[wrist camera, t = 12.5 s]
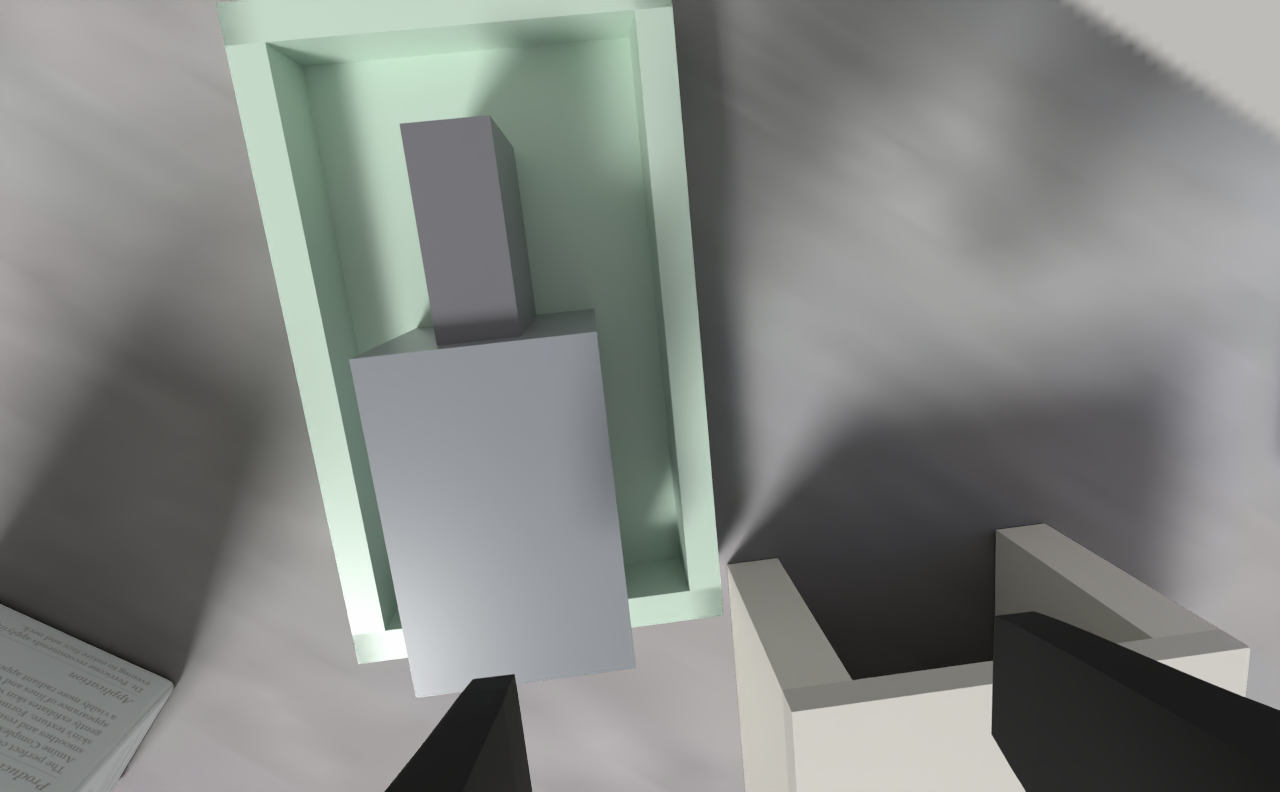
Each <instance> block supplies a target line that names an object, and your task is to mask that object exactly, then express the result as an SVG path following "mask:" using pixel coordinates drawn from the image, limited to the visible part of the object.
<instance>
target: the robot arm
mask: <svg viewBox="0 0 1280 792" xmlns="http://www.w3.org/2000/svg"><path fill="white" fill-rule="evenodd" d="M991 734H992V736H993V738H994V740H995V741H996V743H997V745H998V746H999V748H1000V750H1001V752H1002V753H1003V755H1004V757H1005V758H1006V760H1007V762H1008V764H1009V765H1010V767H1011V769H1012V770H1013V772H1014V774H1015V775H1016V777H1017V778H1018V780H1019V781H1020V783H1021V785H1022V786H1023V788H1024V789H1025V791H1026V792H1280V710H1277V709H1274V708H1272V707H1269V706H1267V705H1264V704H1261V703H1259V702H1256V701H1253V700H1251V699H1248V698H1246V697H1243V696H1241V695H1238V694H1236V693H1233V692H1231V691H1228V690H1226V689H1223V688H1221V687H1218V686H1216V685H1213V684H1211V683H1208V682H1206V681H1204V680H1201V679H1199V678H1196V677H1194V676H1192V675H1189V674H1187V673H1184V672H1182V671H1180V670H1177V669H1175V668H1173V667H1170V666H1168V665H1165V664H1163V663H1161V662H1158V661H1156V660H1154V659H1151V658H1149V657H1147V656H1144V655H1142V654H1140V653H1137V652H1135V651H1133V650H1130V649H1128V648H1126V647H1123V646H1121V645H1119V644H1116V643H1114V642H1112V641H1109V640H1107V639H1105V638H1102V637H1100V636H1097V635H1095V634H1093V633H1090V632H1088V631H1085V630H1083V629H1081V628H1078V627H1076V626H1073V625H1071V624H1068V623H1066V622H1063V621H1061V620H1058V619H1055V618H1052V617H1050V616H1047V615H1044V614H1041V613H1038V612H1035V611H1030V612H1022V613H1014V614H1006V615H997V616H994V642H993V684H992V726H991ZM385 792H532V787H531V780H530V774H529V767H528V760H527V753H526V747H525V740H524V733H523V726H522V720H521V713H520V706H519V700H518V693H517V686H516V679H515V674H510V675H502V676H494V677H485V678H477V679H473V680H472V681H471V682H470V683H469V684H468V685H467V687H466V688H465V689H464V690H463V692H462V693H461V694H460V696H459V697H458V698H457V700H456V701H455V702H454V704H453V705H452V706H451V708H450V709H449V710H448V712H447V713H446V714H445V716H444V717H443V718H442V720H441V721H440V722H439V724H438V725H437V726H436V727H435V729H434V730H433V731H432V733H431V734H430V735H429V737H428V738H427V739H426V741H425V742H424V743H423V744H422V746H421V747H420V748H419V750H418V751H417V752H416V753H415V755H414V756H413V757H412V758H411V759H410V761H409V762H408V763H407V764H406V766H405V767H404V768H403V769H402V771H401V772H400V773H399V774H398V776H397V777H396V778H395V779H394V781H393V782H392V783H391V784H390V786H389V787H388V788H387V789H386V790H385Z"/></svg>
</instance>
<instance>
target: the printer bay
mask: <svg viewBox="0 0 1280 792" xmlns="http://www.w3.org/2000/svg"><path fill="white" fill-rule="evenodd" d="M727 570H728V583H729V595H730V607H731V620H732V632H733V644H734V656H735V669H736V681H737V693H738V706H739V718H740V730H741V743H742V755H743V767H744V780H745V792H1026V791H1025V789H1024V788H1023V786H1022V785H1021V783H1020V781H1019V780H1018V778H1017V777H1016V775H1015V774H1014V772H1013V770H1012V769H1011V767H1010V765H1009V764H1008V762H1007V760H1006V758H1005V757H1004V755H1003V753H1002V752H1001V750H1000V748H999V746H998V745H997V743H996V741H995V740H994V738H993V736H992V734H991V726H992V684H993V661H987V662H980V663H973V664H965V665H958V666H951V667H944V668H937V669H930V670H922V671H915V672H908V673H901V674H894V675H886V676H879V677H872V678H865V679H858V680H852V679H851V677H850V676H849V674H848V672H847V671H846V669H845V667H844V666H843V664H842V662H841V661H840V659H839V658H838V656H837V654H836V653H835V651H834V649H833V648H832V646H831V644H830V643H829V641H828V640H827V638H826V636H825V635H824V633H823V631H822V630H821V628H820V626H819V625H818V623H817V622H816V620H815V618H814V617H813V615H812V613H811V612H810V610H809V608H808V607H807V605H806V604H805V602H804V600H803V599H802V597H801V595H800V594H799V592H798V590H797V589H796V587H795V586H794V584H793V582H792V581H791V579H790V577H789V576H788V574H787V572H786V571H785V569H784V568H783V566H782V564H781V563H780V561H779V559H778V558H774V559H766V560H759V561H751V562H743V563H736V564H728V565H727ZM1030 611H1035V612H1038V613H1041V614H1044V615H1047V616H1050V617H1052V618H1055V619H1058V620H1061V621H1063V622H1066V623H1068V624H1071V625H1073V626H1076V627H1078V628H1081V629H1083V630H1085V631H1088V632H1090V633H1093V634H1095V635H1097V636H1100V637H1102V638H1105V639H1107V640H1109V641H1112V642H1114V643H1116V644H1119V645H1121V646H1123V647H1126V648H1128V649H1130V650H1133V651H1135V652H1137V653H1140V654H1142V655H1144V656H1147V657H1149V658H1151V659H1154V660H1156V661H1158V662H1161V663H1163V664H1165V665H1168V666H1170V667H1173V668H1175V669H1177V670H1180V671H1182V672H1184V673H1187V674H1189V675H1192V676H1194V677H1196V678H1199V679H1201V680H1204V681H1206V682H1208V683H1211V684H1213V685H1216V686H1218V687H1221V688H1223V689H1226V690H1228V691H1231V692H1233V693H1236V694H1238V695H1241V696H1243V697H1245V696H1246V687H1247V677H1248V667H1249V657H1250V647H1249V646H1247V645H1245V644H1244V643H1242V642H1241V641H1239V640H1237V639H1236V638H1234V637H1232V636H1231V635H1229V634H1227V633H1226V632H1224V631H1222V630H1221V629H1219V628H1217V627H1216V626H1214V625H1212V624H1211V623H1209V622H1207V621H1206V620H1204V619H1202V618H1201V617H1199V616H1197V615H1196V614H1194V613H1192V612H1191V611H1189V610H1187V609H1186V608H1184V607H1182V606H1181V605H1179V604H1177V603H1176V602H1174V601H1172V600H1171V599H1169V598H1167V597H1166V596H1164V595H1163V594H1161V593H1159V592H1158V591H1156V590H1154V589H1153V588H1151V587H1149V586H1148V585H1146V584H1144V583H1143V582H1141V581H1139V580H1138V579H1136V578H1134V577H1133V576H1131V575H1129V574H1128V573H1126V572H1124V571H1123V570H1121V569H1119V568H1118V567H1116V566H1114V565H1113V564H1111V563H1109V562H1108V561H1106V560H1104V559H1103V558H1101V557H1099V556H1098V555H1096V554H1094V553H1093V552H1091V551H1090V550H1088V549H1086V548H1085V547H1083V546H1081V545H1080V544H1078V543H1076V542H1075V541H1073V540H1071V539H1070V538H1068V537H1066V536H1065V535H1063V534H1061V533H1060V532H1058V531H1056V530H1055V529H1053V528H1051V527H1050V526H1048V525H1046V524H1045V523H1044V524H1037V525H1029V526H1021V527H1013V528H1006V529H998V530H996V571H995V616H997V615H1006V614H1014V613H1022V612H1030Z"/></svg>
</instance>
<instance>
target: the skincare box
mask: <svg viewBox="0 0 1280 792" xmlns="http://www.w3.org/2000/svg"><path fill="white" fill-rule="evenodd" d="M172 691H173V683H172V682H171V681H169V680H168V679H165V678H163V677H161V676H159V675H156V674H154V673H152V672H149V671H147V670H145V669H143V668H140V667H138V666H136V665H134V664H131V663H129V662H127V661H125V660H123V659H120V658H118V657H116V656H114V655H112V654H109V653H107V652H105V651H103V650H101V649H98V648H96V647H94V646H92V645H90V644H87V643H85V642H83V641H81V640H79V639H76V638H74V637H72V636H70V635H68V634H65V633H63V632H61V631H59V630H57V629H54V628H52V627H50V626H48V625H46V624H43V623H41V622H39V621H37V620H35V619H32V618H30V617H28V616H26V615H24V614H21V613H19V612H17V611H15V610H13V609H10V608H8V607H6V606H4V605H2V604H0V792H113V790H114V787H115V785H116V783H117V781H118V780H119V778H120V776H121V775H122V773H123V771H124V770H125V768H126V766H127V764H128V763H129V761H130V760H131V758H132V756H133V755H134V753H135V751H136V750H137V748H138V746H139V744H140V743H141V741H142V739H143V738H144V736H145V734H146V733H147V731H148V729H149V728H150V726H151V725H152V723H153V721H154V720H155V718H156V716H157V715H158V713H159V712H160V710H161V708H162V707H163V705H164V704H165V702H166V700H167V699H168V697H169V696H170V694H171V693H172Z"/></svg>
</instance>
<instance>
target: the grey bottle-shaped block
mask: <svg viewBox="0 0 1280 792" xmlns="http://www.w3.org/2000/svg"><path fill="white" fill-rule="evenodd" d="M400 130H401V136H402V142H403V148H404V154H405V160H406V166H407V172H408V178H409V184H410V190H411V195H412V201H413V207H414V213H415V219H416V225H417V231H418V237H419V243H420V249H421V255H422V261H423V267H424V272H425V278H426V284H427V290H428V296H429V302H430V308H431V314H432V320H433V326H430V327H421V328H416V329H413V330H411V331H409V332H407V333H405V334H403V335H400V336H398V337H396V338H394V339H392V340H390V341H387V342H385V343H383V344H381V345H379V346H377V347H374V348H372V349H370V350H368V351H366V352H364V353H361V354H359V355H357V356H355V357H353V358H351V359H349V362H350V367H351V372H352V377H353V382H354V387H355V392H356V397H357V403H358V408H359V413H360V418H361V423H362V428H363V433H364V438H365V443H366V448H367V453H368V458H369V463H370V468H371V473H372V478H373V483H374V488H375V493H376V499H377V504H378V509H379V514H380V519H381V524H382V529H383V534H384V539H385V544H386V549H387V554H388V559H389V564H390V569H391V574H392V579H393V584H394V590H395V595H396V600H397V605H398V610H399V615H400V620H401V625H402V630H403V635H404V640H405V645H406V650H407V655H408V660H409V665H410V670H411V675H412V680H413V686H414V691H415V696H416V698H419V697H427V696H434V695H442V694H449V693H456V692H463V690H464V689H465V688H466V687H467V685H468V684H469V683H470V682H471V681H472V680H473V679H477V678H485V677H494V676H502V675H510V674H515V679H516V684H522V683H530V682H537V681H544V680H552V679H559V678H566V677H574V676H581V675H588V674H596V673H603V672H610V671H618V670H625V669H632V668H636V664H635V656H634V647H633V638H632V629H631V620H630V611H629V603H628V594H627V585H626V576H625V567H624V558H623V550H622V541H621V533H620V524H619V516H618V507H617V498H616V490H615V481H614V473H613V464H612V456H611V447H610V438H609V430H608V421H607V413H606V404H605V396H604V387H603V378H602V370H601V361H600V353H599V344H598V336H597V327H596V318H595V310H594V309H585V310H576V311H567V312H558V313H549V314H540V315H536V309H535V302H534V295H533V287H532V280H531V272H530V265H529V258H528V250H527V243H526V236H525V228H524V221H523V213H522V206H521V199H520V191H519V184H518V176H517V169H516V162H515V154H514V147H513V146H512V145H511V143H510V142H509V141H508V139H507V138H506V136H505V135H504V134H503V132H502V131H501V130H500V128H499V127H498V126H497V124H496V123H495V122H494V120H493V119H492V118H491V116H490V115H485V116H475V117H464V118H454V119H443V120H433V121H422V122H411V123H401V124H400Z"/></svg>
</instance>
